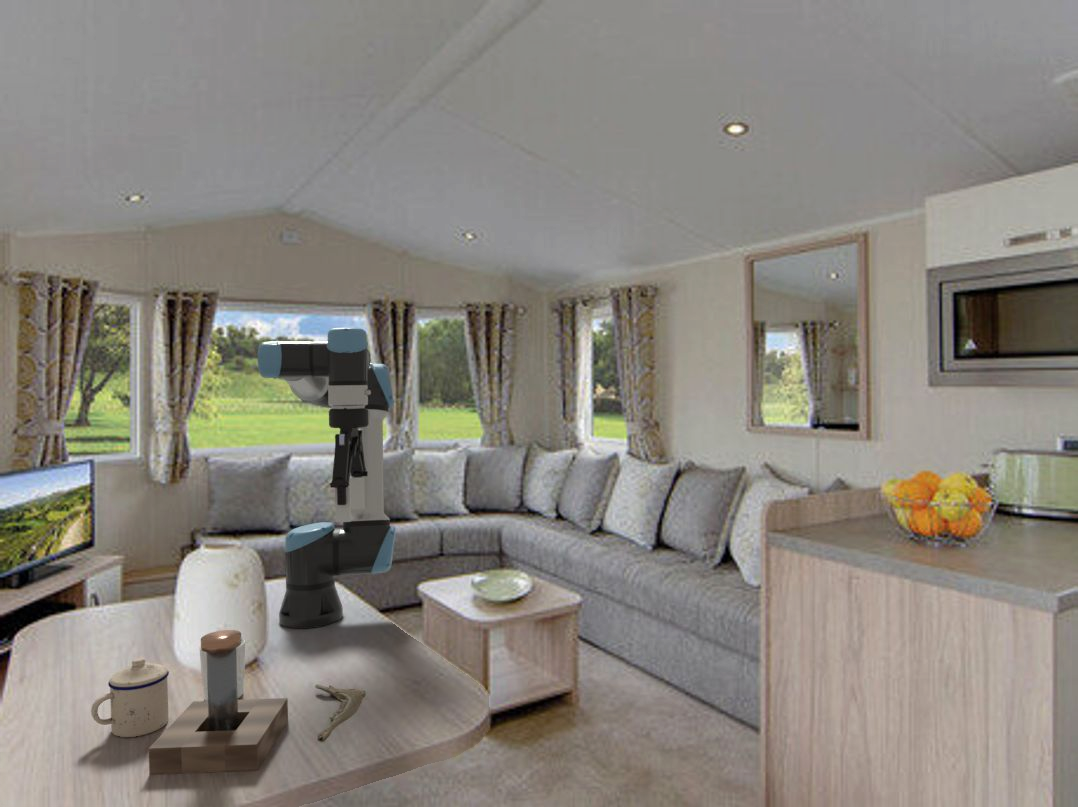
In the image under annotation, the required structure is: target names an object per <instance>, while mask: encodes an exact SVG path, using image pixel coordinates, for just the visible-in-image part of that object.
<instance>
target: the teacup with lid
mask: <svg viewBox="0 0 1078 807" xmlns="http://www.w3.org/2000/svg"><path fill="white" fill-rule="evenodd" d="M169 672H170V671H169V670H168V667H166V666H165V665H164V664H160V663H152V662H147V661H146V659H145V658H144V657H137V658H134V659H133V660H132V662H131V665H130V664H129V665H128V666H126V667H125V668H123V669H120V670H118V671H117V672H115V673H114V674H112V676H111V677H110V678H109V680H108V684H107V685H108V687H109V690H110V691H109V692H110V693H106V694H103V695H100V696H99V697H98V698H97V699H96V700H94V702H93V704H92V706H91V709H90V710H91V711H90V713H91V717H92V719H93V720H94V721H95V722H96V723H97V724H99V725H103V726H105V725H106V726H107V725H108V726H109V725H111V726H110V727H111V729H110V730H111V733H112V734H113V735H114V736H116V735H117V736H116V737H119V736H120V738H136V736H137V737H141V736H145V735H149V734H151V733H154V732H156V731H158V730H160V729H161V728H162V727H164V726H165V725H166V724H167V723H168V721H169V693H168V691H169V689H168V688H169V686H168V683H169V682H168V676H169V674H170V673H169ZM108 700H110V718H105V719H102V718H101V717H99V712H98V710H99V708H100V706H101V705H102V703H103V702H105V701H108Z"/></svg>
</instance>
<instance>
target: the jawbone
mask: <svg viewBox="0 0 1078 807" xmlns="http://www.w3.org/2000/svg"><path fill="white" fill-rule="evenodd" d="M314 688H316V689H318V690H320V691H323V692H326V693H328V694H329V695H332V696H333V697H335V698H336V699H337V700H338V701H340V705H339V707H338V709H337V710H336V712H334V713H333V715H331V716H329V719H330V720H331V723H330V724H329V725H328V726H327V727H326V728H325V729H323V730H322V731H321V732H319V733H318V734H317V740H318V741H322V742H323V741H325V740H326V739H328V738H329V736H330V734H331V732H333V730H335V728H337V727H338V726H339V725H341V724H342V723H344V722H345V721H347V720H348V719H350V718H351V717H352V716H354V715H355V714H356V713H357V711H358V710H359V708H360V707H361V705H360V704H362V700H363V698H364V697H365V696H366V691H365V690H363V689H358V688H348V689H347V688H346V689H343V688H342V689H340V688H336V687H334V686H332V685H331V684H329V685H328V687H327V686H324V685H322V684H316V685H315V686H314ZM364 695H365V696H364ZM363 696H364V697H363ZM362 697H363V698H362Z"/></svg>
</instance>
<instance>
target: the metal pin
mask: <svg viewBox="0 0 1078 807" xmlns="http://www.w3.org/2000/svg"><path fill="white" fill-rule="evenodd" d="M241 638H242V632H241V631H239V630H235V629H223V630H222V629H221V630H217V631H213V632H209V633H206V634H204V635H202V636H201V638H200V646H201V650H202V651H204V652H207V685H208V720H209V731H230V730H237V728H238V700H239V698H238V695H237V658H236V648H237V647H238V646H240V645H241Z"/></svg>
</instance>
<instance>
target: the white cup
mask: <svg viewBox="0 0 1078 807" xmlns="http://www.w3.org/2000/svg"><path fill="white" fill-rule="evenodd" d="M199 658H200V659H199V660H200V670H201V682H202V687H203V697H204V701H208V685H207V652H204V651H202V650H201V645H200V646H199ZM236 658H237V695H238V699H239V698H241V697H242V696H243V695H244V689H245V688H244V687H245V686H244V685H245V684H244V682H245V681H244V679H245V669H246V668H245V667H246V639H244V638H243V637H241V645H240V646H238V647H237V648H236Z"/></svg>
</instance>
